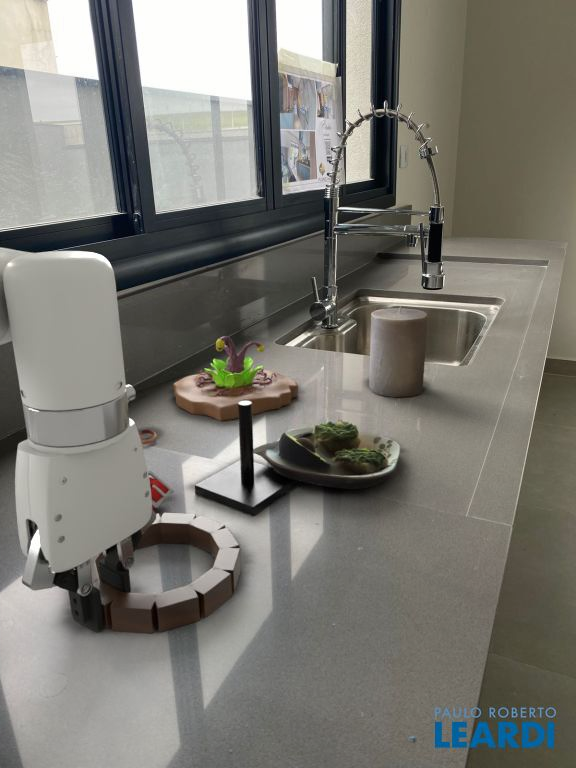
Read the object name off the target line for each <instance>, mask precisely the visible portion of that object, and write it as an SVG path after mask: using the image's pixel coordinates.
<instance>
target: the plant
mask: <svg viewBox="0 0 576 768" xmlns="http://www.w3.org/2000/svg"><path fill="white" fill-rule="evenodd" d="M226 341H227V342H228V345H229V346H227V345H226ZM253 345H255V347H256V349H257V351H258V352H259V353H263V352H264V351H265V346H264V345H263V344H262V343H261V342H259V341H258V342H257V341H254V340H253V341H249V342H248V343H246V344H244V346H242V348H241V350H240V351H239V353H238V354H237V350H236V345H235V344H234V341H233V340H232V339H231V337H230V336H221V337H219V338H218V339H217V340H216V342H215V350H216V351H217V352H223V350H224V351H225V352H226V354H227V358H226V361H223V360H222V359H218V358H213V359H212V362H213V363H210V366H211V367H212V368H213V369H214V370H212V369H211V368H204V370H199V371H198V373H196V374H191V375H187V376H185V377H183V378H181V379H179V380H177V381H175V382H174V383H173V395H174V397H175V402H176V405H177V406H178V407H179V408H180V409H183V410H185V411H187V412H188V413H190V414H191V415H201V416H206V417H210V418H213V419H215V420H218V421H220V422H223V421H229V420H236V419H239V414H238V403H239V402H240V401H250V402H252V416H254V415H257V414H260V413H264V412H267V411H270V410H280V409H281V408H282V407H284V406H289V405H291V404H292V399H293V398H297V397H298V396H299V386H298V382H297V381H296V380H295V379H293V378H290V377H288V376H285V375H282V374H280V373H279V372H276V371H273V370H270V369H264V368H263V367H264V365H258V366H256V367H254V368H253V367H252V366H253V364H254V359H252V358H251V357H250V356H247V357H246V353H247V351H248V349H249V348H250V347H251V346H253Z"/></svg>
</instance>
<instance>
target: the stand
mask: <svg viewBox="0 0 576 768" xmlns="http://www.w3.org/2000/svg"><path fill="white" fill-rule="evenodd" d="M238 414H239V418H238V436H239V437H238V439H239V460H236V462H233V463H232V464H229V465H228V466H227V467H225V468H223V469H220V470H219V471H218V472H216V473H214V474H212V475H210V476H208V477H207V478H205V479H203V480H201V481H199V482H198V483H196V484H194V494H195V495H197V496H199V497H202V498H205V499H208V500H209V501H212V502H215V503H217V504H220V505H222V506H226V507H228V508H231V509H233V510H236V511H238V512H241V513H244V514H246V515H249V516H252V517H255V516H257V515H258V514H259V513H261V512H262V511H264V510H265V509H266V508H268V507H270V506H271V505H273V504H274V503H275V502H277V501H278V500H280V499H281V498H283V497H285V495H287V494H288V493H290V492H292V491H293V490H294V489H296V488H297V487H298V486H300V481H297V480H293V479H289V478H287V477H284V476H282V475H280V474H279V473H277V472H276V471H275V470H274V469H273V467H272V466H268V465H265V464H262V463H259V462H255V459H254V458H255V457H254V455H255V454H254V453H253V449H254V426H253V425H254V422H253V415H252V402H250V401H240V402H239V403H238Z"/></svg>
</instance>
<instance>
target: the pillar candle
mask: <svg viewBox="0 0 576 768" xmlns="http://www.w3.org/2000/svg"><path fill="white" fill-rule="evenodd" d="M427 332H428V313H426V312H425V311H423V310H420V309H414V308H404V307H403V308H402V306H401V305H400V306H399V307H390V308H381V309H377V310H374V311H372V312H371V313H370V348H369V351H370V352H369V374H368V375H369V380H368V381H369V382H368V385H369V389H370V390H371V391H372V392H373V393H374V394H377V395H380V396H384V397H390V398H391V397H393V398H405V397H414V396H417V395H420V394H421V393H423V391H424V388H425V387H424V375H425V363H426V349H427V335H428V334H427Z"/></svg>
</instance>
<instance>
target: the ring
mask: <svg viewBox="0 0 576 768" xmlns="http://www.w3.org/2000/svg"><path fill="white" fill-rule="evenodd" d="M158 544H159V545H160V544H179V545H191V546H193V547H196V548H198V549H200V550H202V551H204V552H206V553H209V554H211V555H212V557H213V560H214V562H213V565H212V567H211V568H210V569H208V570H207V571H206V572H204V573H203V574H202V575H200V576H199V577H197V578H196V579H195V580H193V581H192V582H191V583H190V584H187V585H184V586H180V587H176V588H172V589H169V590H164V591H161V592H158V593H146V592H130V593H129V592H121V591H119V590H117V589H115V588H114V587H112V586H110V585H108V584H106V583H105V582H103V581H101V580H100V574H99V562H100V561H101V560H103V559H105V558H104V557H103V552H101V553H99V554H97V555H96V556H94V557H92V558H90V563H91V573H92V583H93V586H94V587H96V588H98V589H99V591H100V595H101V603H102V611H103V618H104V626H103V628H104V629H106V630H109V629H110V628H112V632H126V633H127V632H128V633H143V634H154V632H155V630H156V628H157V630H158V632H159V633H163V632H166V631H170V630H173V629H175V628H179V627H183V626H186V625H190V624H193V623H196V622H200V621H201V620H200V619H201V617H203V618H205V619H206V618H207V617H209V615H211V614H212V613H213V612H215V611H216V610H217V609H219V607H221V606H222V605H224V603H226V602H227V601H228V600H229V599H230V598H232V597H233V594H234V593H235V592H236V589H237V585H238V582H239V579H240V576H241V572H242V557H241V545H240V544H239V542H238V540H237V539H236V537H235V536H234V535H233V533H232V532H231V530H230V528H229V527H226V525H225V524H222V523H220V522H218V521H215V520H213V519H210V518H208V517H205V516H203V515H202V514H201V515H198V516H197V514H196V513H181V512H179V513H177V512H163V513H162V515H160V513H156V519H155V521H154V522H153V523H152V525H151V526H150V527H149V528H148V529H147V530H146V532H145V533H144V534H143V533H142V537H141V540H140V542H139V544H138V546H137V548H136V550H137V549H142V548H145V547H151V546H155V545H158Z"/></svg>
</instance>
